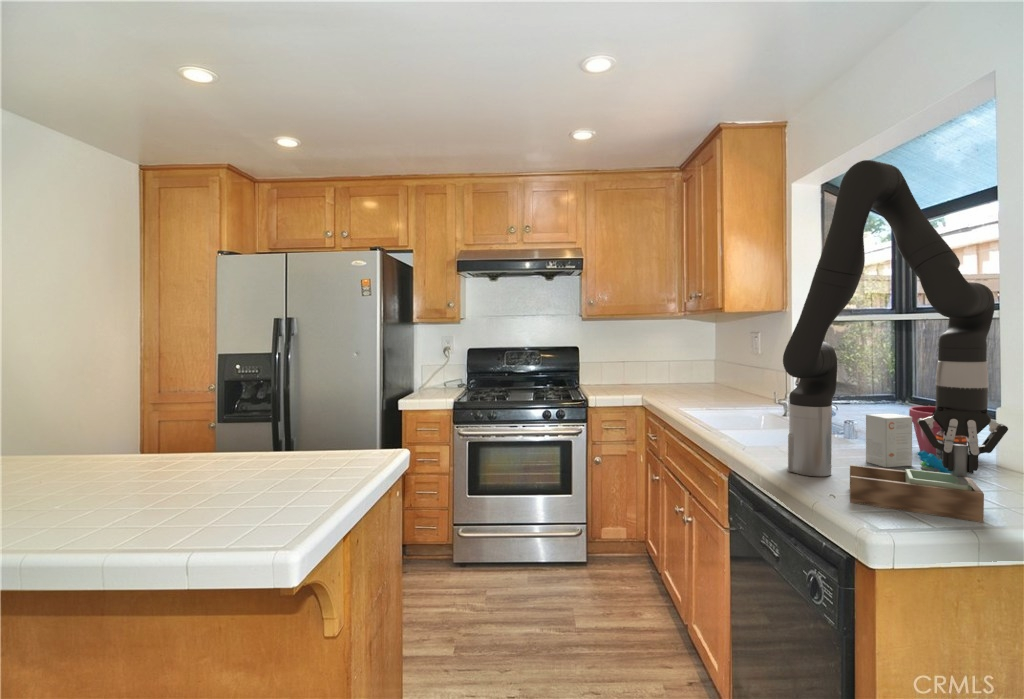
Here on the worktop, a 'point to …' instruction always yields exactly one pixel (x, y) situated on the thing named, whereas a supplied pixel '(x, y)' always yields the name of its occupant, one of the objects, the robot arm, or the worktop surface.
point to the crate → (945, 479)
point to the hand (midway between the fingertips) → (959, 471)
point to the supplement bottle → (957, 440)
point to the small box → (889, 440)
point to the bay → (913, 494)
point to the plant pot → (921, 437)
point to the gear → (931, 463)
